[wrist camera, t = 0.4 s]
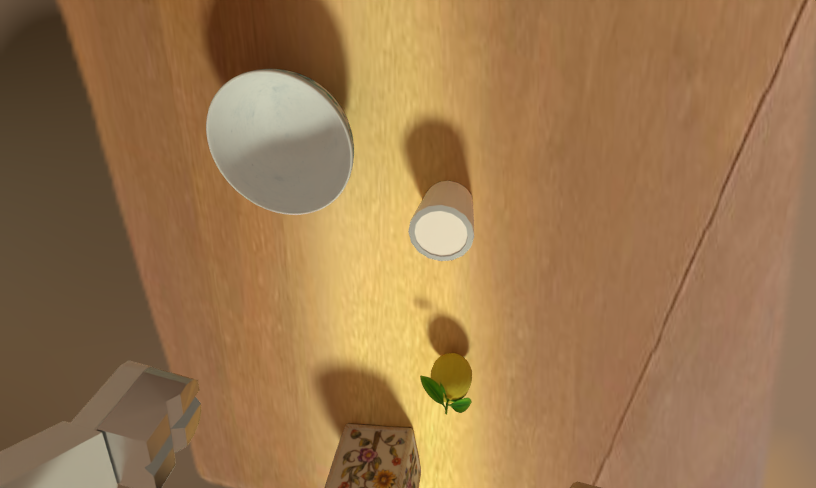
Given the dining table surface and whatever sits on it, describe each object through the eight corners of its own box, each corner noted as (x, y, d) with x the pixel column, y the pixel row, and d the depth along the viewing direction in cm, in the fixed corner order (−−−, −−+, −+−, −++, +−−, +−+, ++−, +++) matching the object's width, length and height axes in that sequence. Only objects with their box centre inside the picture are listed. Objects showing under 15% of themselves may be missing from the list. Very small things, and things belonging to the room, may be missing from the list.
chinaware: (360, 46, 51) (337, 65, 45) (379, 182, 59) (362, 215, 53) (224, 55, 54) (185, 74, 48) (260, 183, 62) (230, 214, 56)
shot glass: (432, 165, 57) (422, 194, 51) (488, 190, 57) (485, 222, 52) (410, 214, 61) (398, 246, 55) (463, 237, 61) (457, 271, 55)
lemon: (428, 339, 71) (416, 395, 63) (470, 337, 70) (463, 395, 61) (436, 373, 75) (426, 431, 66) (476, 373, 73) (471, 432, 65)
